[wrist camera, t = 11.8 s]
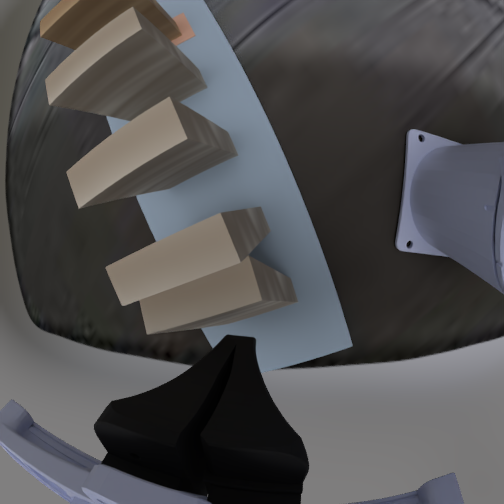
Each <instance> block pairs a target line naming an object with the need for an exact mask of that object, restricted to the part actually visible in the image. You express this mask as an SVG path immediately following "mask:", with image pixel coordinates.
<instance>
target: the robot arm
mask: <svg viewBox="0 0 504 504" xmlns="http://www.w3.org/2000/svg"><path fill="white" fill-rule="evenodd" d="M419 135H420V136H421V137H422V142H420V141H419V139H418V136H419ZM408 241H411V244H410V246H409V247H407V246H406V244H407V242H408ZM395 246H396V248H397V249H398V250H400V251H405V252H413V253H422V254H430V255H438V256H445V257H450V258H452V259H454V260H455V261H457V262H458V263H460V264H461V265H463V266H464V267H466V268H467V269H469V270H470V271H472V272H473V273H475V274H476V275H478V276H479V277H481V278H482V279H483V280H485V281H486V282H488V283H489V284H490V285H492V286H493V287H495V288H496V289H497V290H499V291H500V292H501V293H503V294H504V142H495V143H478V144H465V145H462V144H459V143H457V142H454V141H451V140H448V139H445V138H442V137H439V136H436V135H433V134H429V133H426V132H423V131H419V130H416V129H411V130H409V131H408V132H407V135H406V155H405V170H404V181H403V191H402V199H401V207H400V214H399V221H398V227H397V233H396V239H395ZM94 430H95V433H96V435H97V436H98V438H99V440H100V441H101V443H102V444H103V446H104V447H105V449H106V450H107V452H108V453H107V454H106V456H105V458H104V460H103V461H100V460H97V459H96V458H94V457H92V456H90V455H88V454H86V453H83V452H82V451H80V450H78V449H76V448H75V447H73V446H71V445H69V444H68V443H66V442H64V441H63V440H61V439H59V438H58V437H56V436H54V435H53V434H51V433H50V432H48V431H47V430H45V429H44V428H42V427H41V426H39V425H38V424H37V423H35V422H34V421H33V419H32V417H31V416H30V414H29V413H28V412H27V411H26V410H25V409H24V408H23V407H22V406H20V405H19V404H18V403H17V402H15V401H14V400H10V401H9V402H8V403H7V404H6V405H5V407H3V409H2V410H1V411H0V445H1V446H2V447H3V448H4V450H5V451H6V452H7V453H8V454H9V455H10V456H11V457H12V458H13V459H14V460H15V461H16V462H17V463H18V464H20V465H21V466H22V467H23V468H24V469H25V470H27V471H28V472H29V473H30V474H32V475H33V476H34V477H35V478H37V479H38V480H39V481H40V482H42V483H43V484H44V485H46V486H47V487H48V488H49V489H51V490H52V491H53V492H55V493H56V494H58V495H59V496H61V497H62V498H63V499H65V500H66V501H68V502H70V504H301V494H302V491H303V481H304V479H305V477H306V475H307V473H308V470H309V462H308V457H307V453H306V450H305V447H304V444H303V442H302V439H301V437H300V436H299V435H298V434H297V433H296V432H295V431H294V430H293V428H292V427H291V426H290V425H289V424H288V422H287V421H286V420H285V418H284V417H283V416H282V414H281V413H280V411H279V410H278V408H277V407H276V405H275V403H274V402H273V400H272V398H271V396H270V394H269V392H268V390H267V388H266V385H265V383H264V381H263V378H262V375H261V372H260V369H259V365H258V361H257V356H256V339H255V338H254V337H247V336H238V335H229V334H227V335H226V336H224V338H223V339H222V340H221V341H220V342H219V343H218V344H217V345H216V346H215V347H214V348H213V349H212V350H211V351H210V352H209V353H208V354H206V355H205V356H204V357H203V358H202V359H201V360H200V361H198V362H197V363H196V364H195V365H193V366H192V367H191V368H190V369H188V370H187V371H185V372H184V373H183V374H181V375H179V376H178V377H176V378H174V379H173V380H171V381H169V382H167V383H165V384H163V385H161V386H159V387H157V388H154V389H152V390H150V391H147V392H144V393H142V394H138V395H135V396H132V397H128V398H124V399H119V400H115V401H111V403H110V404H109V405H108V406H107V407H106V409H105V410H104V411H103V413H102V414H101V416H100V417H99V419H98V420H97V422H96V423H95V424H94ZM207 495H208V497H207ZM348 504H464V502H463V498H462V495H461V491H460V489H459V485H458V482H457V479H456V475H455V473H450V474H447V475H444V476H441V477H438V478H435V479H432V480H430V481H428V482H426V483H425V484H423V485H422V486H421V487H420V488H419V489H418V490H416V491H413V492H409V493H405V494H401V495H396V496H392V497H387V498H382V499H376V500H371V501H364V502H357V503H348Z"/></svg>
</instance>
